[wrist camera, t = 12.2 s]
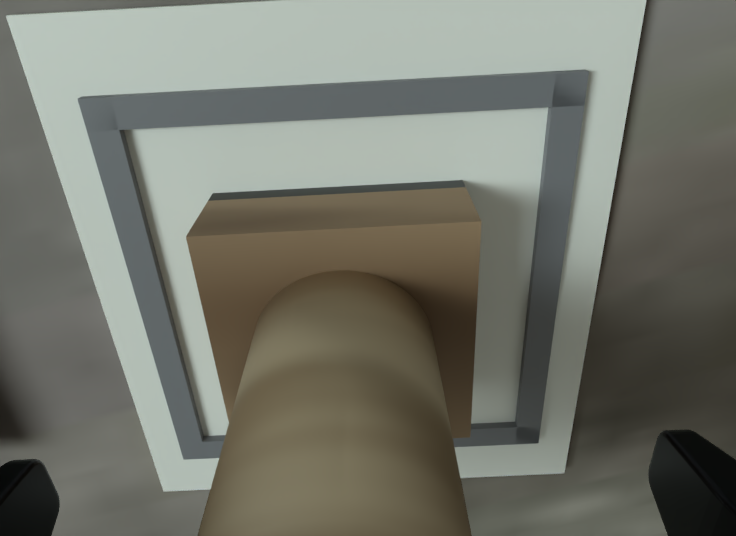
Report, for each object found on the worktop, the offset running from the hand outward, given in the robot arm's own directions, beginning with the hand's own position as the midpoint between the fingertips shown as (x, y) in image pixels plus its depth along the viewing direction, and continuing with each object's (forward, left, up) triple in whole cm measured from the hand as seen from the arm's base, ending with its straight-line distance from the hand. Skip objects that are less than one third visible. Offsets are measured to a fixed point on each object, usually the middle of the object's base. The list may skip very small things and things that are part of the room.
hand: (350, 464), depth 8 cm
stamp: (0, 0, -5) cm, 5 cm away
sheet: (0, 0, -5) cm, 5 cm away
